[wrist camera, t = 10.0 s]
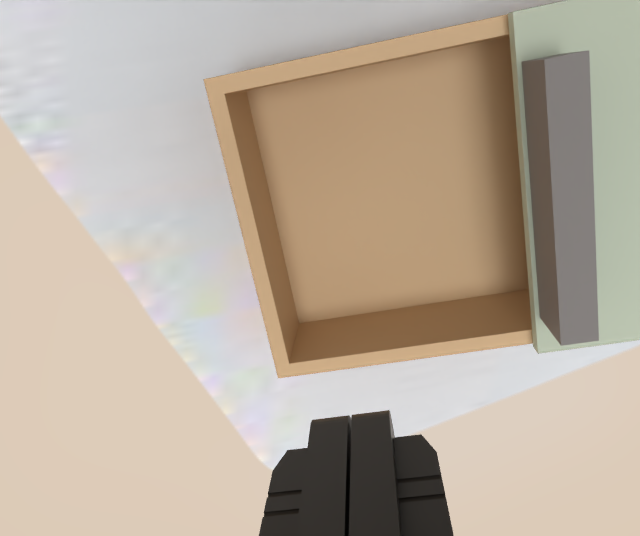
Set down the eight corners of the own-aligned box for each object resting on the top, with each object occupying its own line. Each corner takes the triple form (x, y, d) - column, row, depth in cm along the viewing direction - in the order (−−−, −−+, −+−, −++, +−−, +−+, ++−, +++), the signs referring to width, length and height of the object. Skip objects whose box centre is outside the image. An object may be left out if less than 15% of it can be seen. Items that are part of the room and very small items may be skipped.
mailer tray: (232, 79, 31) (203, 79, 25) (600, 0, 28) (660, -19, 22) (290, 330, 36) (278, 378, 30) (607, 283, 33) (659, 326, 27)
